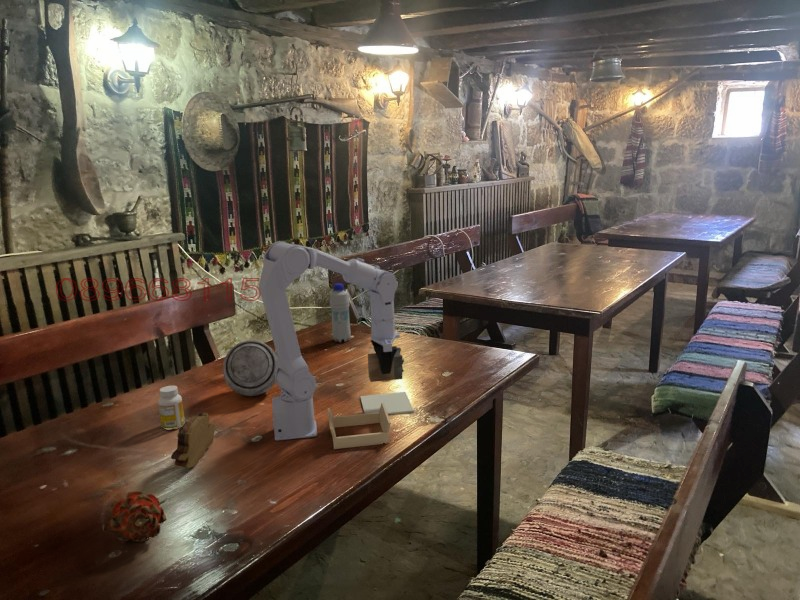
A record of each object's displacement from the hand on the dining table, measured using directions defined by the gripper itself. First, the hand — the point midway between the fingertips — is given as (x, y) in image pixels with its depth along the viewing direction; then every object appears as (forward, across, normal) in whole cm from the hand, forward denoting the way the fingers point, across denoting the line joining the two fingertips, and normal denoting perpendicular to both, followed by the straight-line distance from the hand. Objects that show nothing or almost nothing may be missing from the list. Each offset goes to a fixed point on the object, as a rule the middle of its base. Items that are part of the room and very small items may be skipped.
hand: (384, 370), depth 152 cm
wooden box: (+9, -15, +8) cm, 20 cm away
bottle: (+10, +57, +7) cm, 58 cm away
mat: (+9, 0, 0) cm, 9 cm away
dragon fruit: (+10, -44, +50) cm, 67 cm away
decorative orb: (+10, +16, +34) cm, 39 cm away
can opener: (+10, +27, -7) cm, 29 cm away
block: (+2, 0, 0) cm, 2 cm away
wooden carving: (+10, -19, +44) cm, 49 cm away
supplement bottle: (+10, 0, +52) cm, 53 cm away
